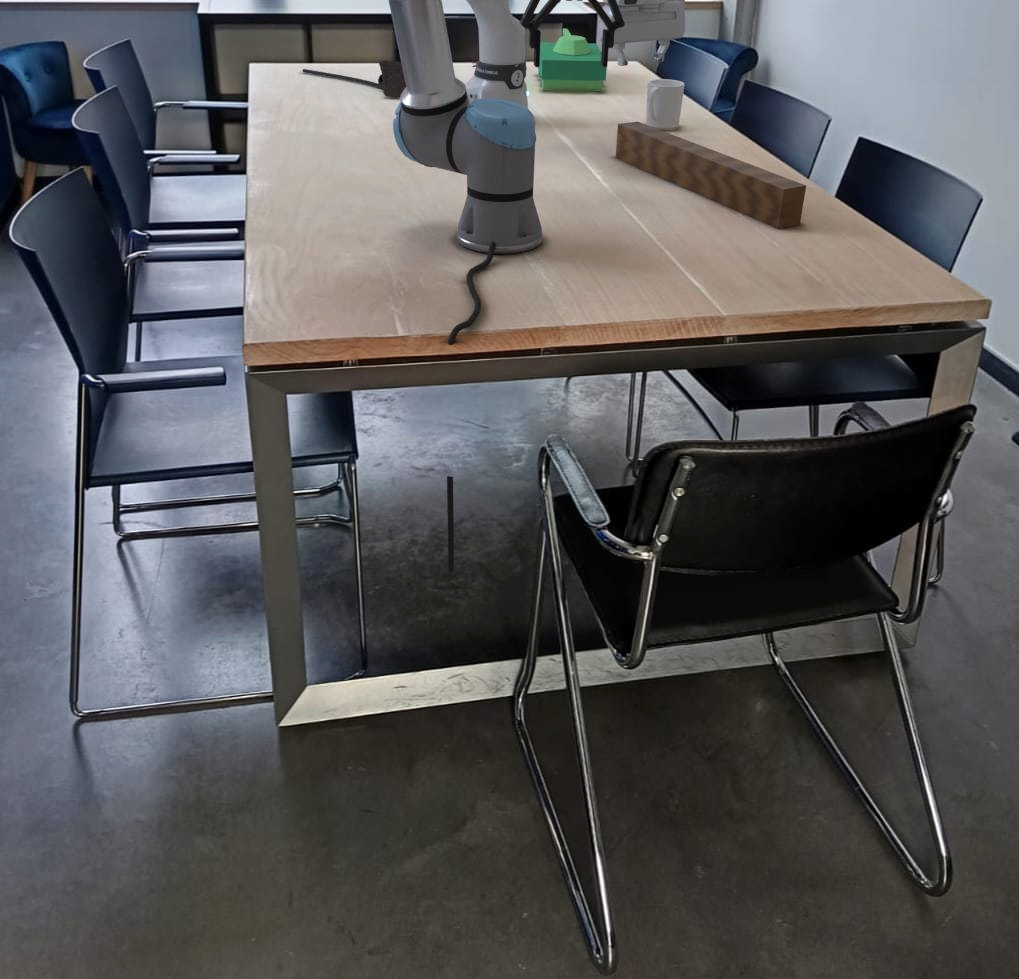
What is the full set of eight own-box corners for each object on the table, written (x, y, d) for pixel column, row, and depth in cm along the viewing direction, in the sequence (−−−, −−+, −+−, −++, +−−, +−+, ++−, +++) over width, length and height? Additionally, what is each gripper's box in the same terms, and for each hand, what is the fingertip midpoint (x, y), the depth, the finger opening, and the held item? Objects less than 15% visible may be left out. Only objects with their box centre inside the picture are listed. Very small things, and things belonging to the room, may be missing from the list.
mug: (656, 120, 276) (660, 77, 271) (687, 126, 272) (691, 82, 266) (632, 127, 269) (635, 84, 264) (663, 134, 264) (667, 89, 259)
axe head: (443, 87, 294) (392, 77, 287) (436, 115, 299) (385, 106, 292) (421, 62, 307) (371, 52, 300) (414, 89, 311) (365, 80, 304)
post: (800, 224, 207) (806, 185, 203) (778, 228, 205) (784, 188, 201) (635, 155, 248) (637, 121, 244) (615, 157, 246) (617, 123, 242)
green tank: (593, 25, 326) (608, 46, 296) (591, 69, 332) (604, 93, 302) (534, 24, 325) (543, 45, 295) (533, 67, 331) (541, 92, 301)
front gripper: (636, -55, 210) (627, 61, 221) (507, -57, 207) (505, 62, 218) (645, -51, 204) (636, 69, 215) (513, -53, 201) (510, 69, 212)
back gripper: (676, -12, 233) (670, 57, 240) (596, -7, 224) (593, 65, 231) (694, -9, 228) (688, 61, 236) (613, -3, 220) (610, 69, 227)
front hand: (570, 65), depth 217 cm, fingers open, 13 cm apart
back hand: (640, 63), depth 233 cm, fingers open, 8 cm apart
